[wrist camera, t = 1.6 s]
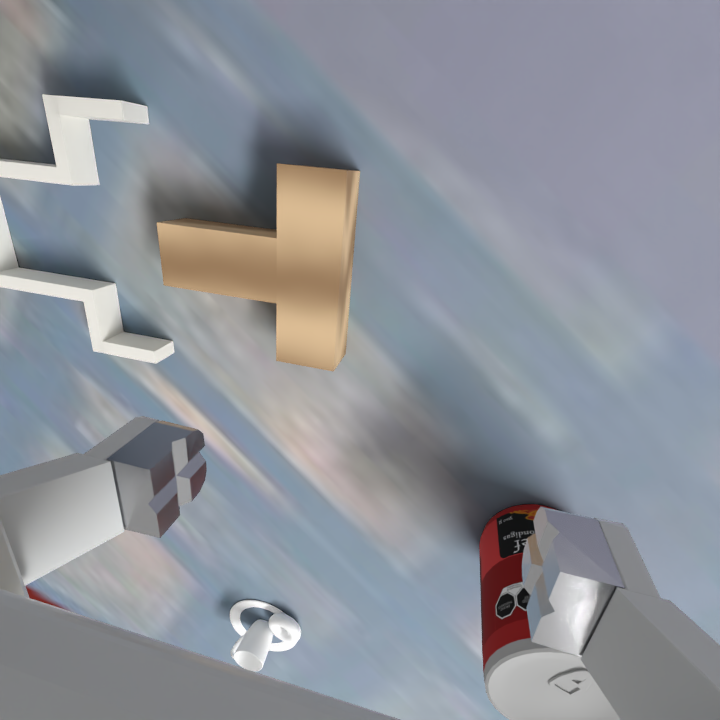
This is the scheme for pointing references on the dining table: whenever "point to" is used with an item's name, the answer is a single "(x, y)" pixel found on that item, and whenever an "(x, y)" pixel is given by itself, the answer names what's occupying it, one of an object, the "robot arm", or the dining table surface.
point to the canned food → (526, 636)
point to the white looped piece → (261, 635)
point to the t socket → (74, 169)
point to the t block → (280, 261)
